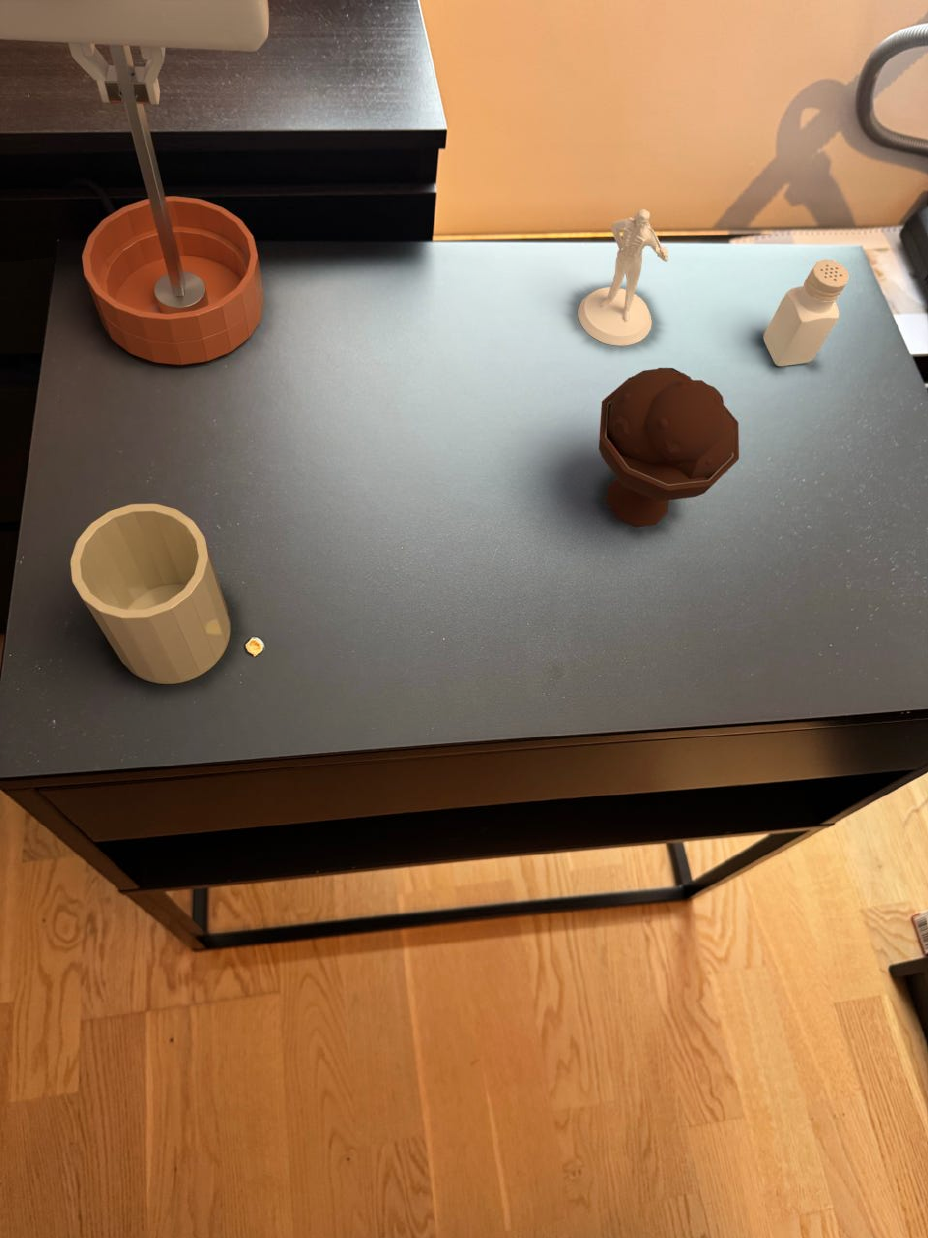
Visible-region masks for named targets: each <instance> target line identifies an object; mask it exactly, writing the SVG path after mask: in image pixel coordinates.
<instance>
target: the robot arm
mask: <svg viewBox="0 0 928 1238" xmlns="http://www.w3.org/2000/svg"><path fill="white" fill-rule="evenodd" d="M269 30H270V9H269V1H268V0H0V40H2V41H3V40H4V41H5V40H6V41H23V42H43V43H45V42H46V43H64V44H68V47H69V51H70V55H71V57H72V58H73V60H74V61H75V62H77V64H78V65H79V66H80V67H81V68H82V69H83V70H84V71H85V72H86V73H87V74H88V76H89V77H91V79H92V81H95V82H96V85H97V89H98V92H99V95H100V99H101V102H102V103H103V104H104V103H107V104H108V103H109V104H124V101H123V97H122V93H121V89H120V85H119V81H118V78H117V74H116V70H115V66H114V64H109V62H108V61H107V60H106V59H105V58H104V57H103V55H102V54H101V52H100V51H99V50H98V49H97V48H96V45H102V46H103V45H104V46H109V45H122V46H129V47H139V49H140V54H141V58H142V59H143V60H146V63H145V66H139V65H138V66H134V70H133V74H134V75H133V76H132V82H131V83H132V87H133V92H134V93H135V94H136V96H135V100H136V103H137V104H143V105H152V106H153V105H154V106H155V105H156V106H158V105H159V104H160V97H161V89H160V84H159V78H158V77H159V74H160V72H161V69H162V67H163V65H164V62H165V57H166V49H186V50H187V49H188V50H207V51H224V52H225V51H226V52H243V53H255V52H258V51H259V50H260V49H261V47H262V46H263V45H264V44H265V42H266V41H267V39H268V36H269Z"/></svg>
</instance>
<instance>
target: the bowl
mask: <svg viewBox="0 0 928 1238" xmlns="http://www.w3.org/2000/svg"><path fill="white" fill-rule="evenodd" d="M165 198H166V203H167V207H168V211H169V215H170V219H171V223H172V228H173V232H174V236H175V240H176V244H177V249H178V253H179V257H180V261H181V265H182V269H183V271H187V272H191V273H194V274H196V275H197V276H199V277H200V278H201V279H202V280H203V282H204V284H205V288H206V292H207V297H208V306H206V307H203V308H200V309H198V310H195V311H189V312H181V313H173V314H162V313H161V312H160V310H159V308H158V305H157V301H156V298H155V294H154V286H155V284H156V282H157V281H158V279H160V278H161V277H162V276H163V275H165V274H167V273H168V272H167V268H166V264H165V260H164V256H163V252H162V248H161V244H160V241H159V237H158V233H157V229H156V225H155V221H154V217H153V213H152V210H151V206H150V202H149V198H147V199H143V200H140V201H137V202H135V203H131V204H128V205H125V206H122V207H121V208H119V209H118V210H116V211H114V212H113V213H112V214H109V215H108V216H107V217H105V218H104V219H103V220H101V221H100V223H98V225H97V226H96V227H95V228H94V229H93V230H92V231H91V233H90V234H89V235H88V237H87V240H86V243H85V246H84V249H83V252H82V255H81V256H82V257H81V258H82V264H83V265H82V266H83V275H84V278H85V281H86V283H87V286H88V288H89V292H90V294H91V297H92V299H93V302H94V305H95V308H96V311H97V313H98V317H99V318H100V319H99V320H100V322H101V323H102V326H103V327H104V328H105V330H106V332H107V334H108V335H109V336H110V338H111V340H112V341H113V342H114V343H116V344H117V345H118V346H120V347H121V348H122V349H123V350H125V351H126V352H128V353H129V354H130V355H133V356H136V357H139V358H141V359H144V360H147V361H149V362H152V363H158V364H166V365H177V366H183V365H184V366H185V365H192V364H197V363H206V362H209V361H212V360H214V359H217V358H219V357H222V356H224V355H227V354H229V353H231V352H232V351H234V350H236V349H237V348H238V347H239V346H241V345H242V344H243V343H244V342H246V341H247V340H248V339H250V337H251V336H252V335H253V333H254V331H255V330H256V329H257V327H258V326H259V325H260V323H261V321H262V317H263V311H264V307H265V294H264V288H263V281H262V275H261V267H260V266H261V265H260V260H259V253H258V250H257V249H258V248H257V246H256V241H255V237H254V235H253V234H252V232H251V231H250V230H249V228H248V227H247V225H245V223H244V221H243V220H242V219H240V218H239V217H238V216H237V215H235V214H233V213H232V212H230V211H229V210H228V209H226V208H224V207H223V206H220V205H217V204H214V203H212V202H209V201H206V200H204V199H201V198H193V197H185V196H176V195H174V196H173V195H172V196H165Z"/></svg>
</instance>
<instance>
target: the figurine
mask: <svg viewBox="0 0 928 1238" xmlns="http://www.w3.org/2000/svg"><path fill="white" fill-rule="evenodd" d="M650 215H651V213H650V211H649V210H647V209H645V208H641V209H639V210H638V211H637V213H636V214H635V215H634V216H633V217H627V218H622V219H618V220H615V221H614V222H613V223H611V233H612V235H613V238H614V240H615V243H616V245H617V247H618V250H617V252H616V258H615V265H614V266H615V267H614V274H613V278H612V281H611V285H610V286H606V287H601V288H599V289H596V290H594V291H592V292H591V293H589V294H587V295H586V296H585V297H584V298H583V299H582V300H581V302H580V304H578V305H579V306H578V309H577V317H578V321H579V324H580V326H581V328H583V330H584V331H585V332H586V334H588V335H590V336H591V337H592V338H593V339H595V340H596V341H599V342H601V343H604V344H606V345H607V344H608V345H611V346H619V347H621V346H623V347H624V346H630V345H634V344H637V343H639V342H640V341H642V340H643V339H645V338H646V337H647V336H648V335H649V333H650V331H651V329H652V325H653V324H652V323H653V321H652V316H651V312H650V310H649V308H648V306H647V304H646V302H644V300H643V299H642V298H641V297H640V296H638V295H637V294H636V289H637V286H638V283H639V279H640V276H641V270H642V262H643V257H642V256H643V249H644V248H645V247H650V248H651V249H652V250H653V252H654V253H655V254H656V255H657V257H658V258H660V259H661V260H662V261H663V262H666V263H667V262H668V261H669V254H668V253H669V249H668V248H667V247H666V246H662V244H661V241H660V240H659V237H658V235H657V233H656V232H655V230H654V229H653V227H652V226H651V224H650V222H649V220H650ZM621 232H622V235H621ZM624 278H625V279H626V288H622V287H621V286H622V283H623V282H624V281H623V280H624Z"/></svg>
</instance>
